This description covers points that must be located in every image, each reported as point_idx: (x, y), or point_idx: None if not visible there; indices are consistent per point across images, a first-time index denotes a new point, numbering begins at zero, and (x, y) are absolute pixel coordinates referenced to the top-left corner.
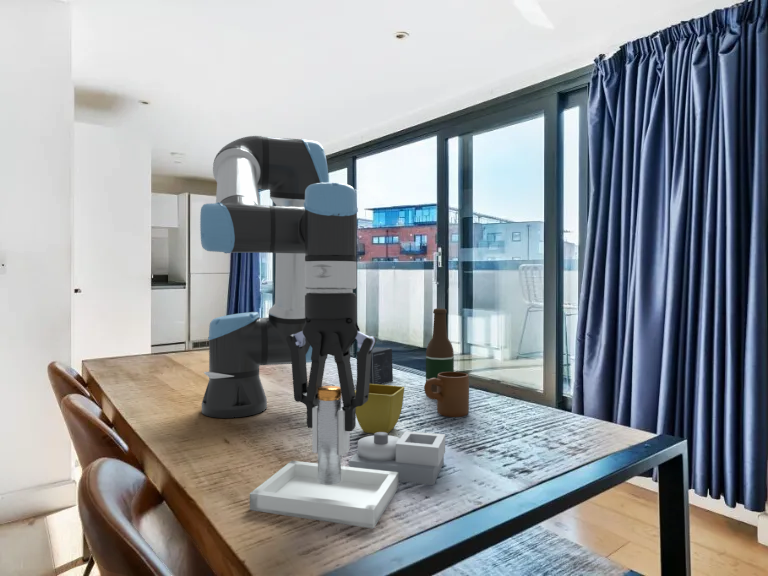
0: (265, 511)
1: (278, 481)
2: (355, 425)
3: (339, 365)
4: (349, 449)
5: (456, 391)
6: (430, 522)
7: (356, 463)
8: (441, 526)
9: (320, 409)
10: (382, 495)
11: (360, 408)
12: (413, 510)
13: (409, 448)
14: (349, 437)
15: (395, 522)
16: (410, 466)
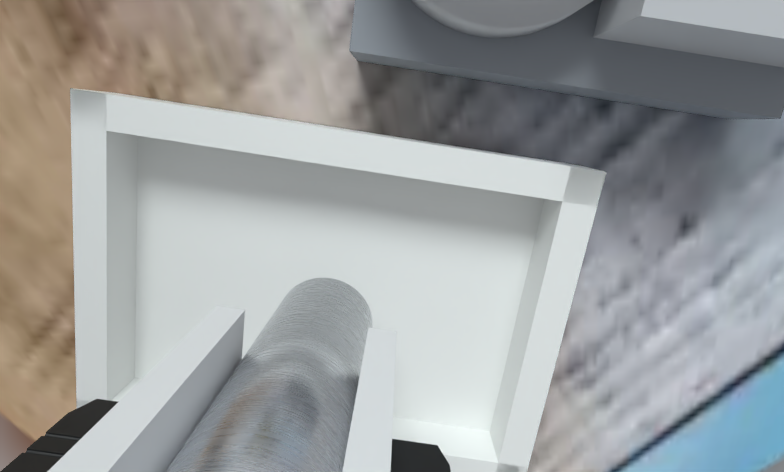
0: None
1: (116, 281)
2: (449, 469)
3: None
4: (396, 334)
5: None
6: (677, 397)
7: (390, 58)
8: (708, 415)
9: None
10: (544, 397)
11: None
12: (629, 330)
13: (716, 32)
14: (394, 369)
15: (569, 407)
16: (668, 91)
